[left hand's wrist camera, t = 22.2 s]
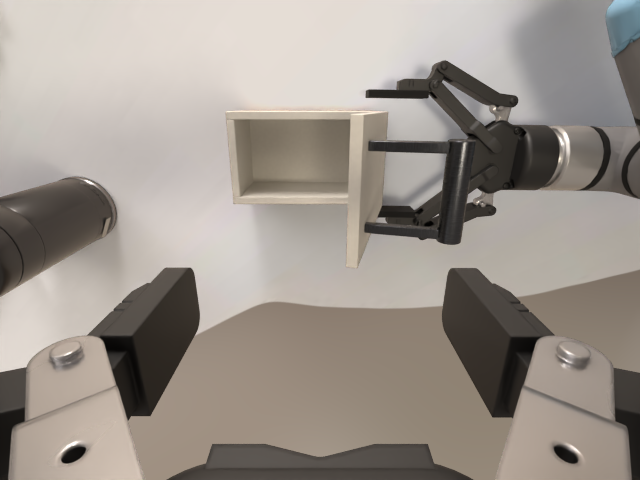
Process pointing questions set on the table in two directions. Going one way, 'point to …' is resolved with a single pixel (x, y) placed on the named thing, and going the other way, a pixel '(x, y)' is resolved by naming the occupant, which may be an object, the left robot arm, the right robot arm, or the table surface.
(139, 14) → the table surface
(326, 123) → the cream rectangular box
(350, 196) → the lid
